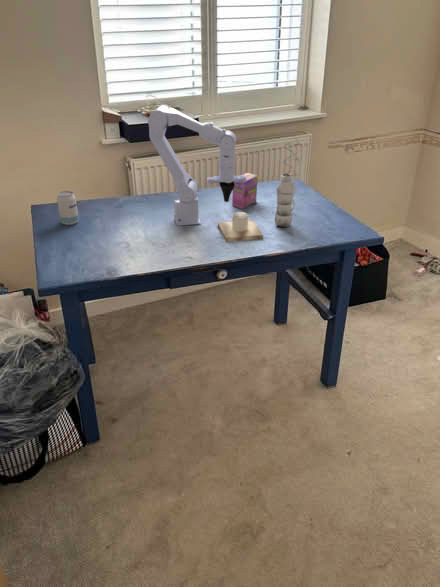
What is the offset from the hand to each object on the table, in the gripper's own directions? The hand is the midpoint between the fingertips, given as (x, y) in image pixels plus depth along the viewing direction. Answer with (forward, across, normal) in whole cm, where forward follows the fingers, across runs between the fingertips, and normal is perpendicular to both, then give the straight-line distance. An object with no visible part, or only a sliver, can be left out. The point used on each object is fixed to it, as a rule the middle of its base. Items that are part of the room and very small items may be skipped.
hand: (226, 200), depth 193 cm
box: (+10, +12, +19) cm, 25 cm away
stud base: (+9, +4, -9) cm, 13 cm away
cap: (+8, +4, -9) cm, 12 cm away
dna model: (+9, +27, +8) cm, 30 cm away
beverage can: (+10, -60, +11) cm, 62 cm away
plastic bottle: (+9, +22, -6) cm, 24 cm away
